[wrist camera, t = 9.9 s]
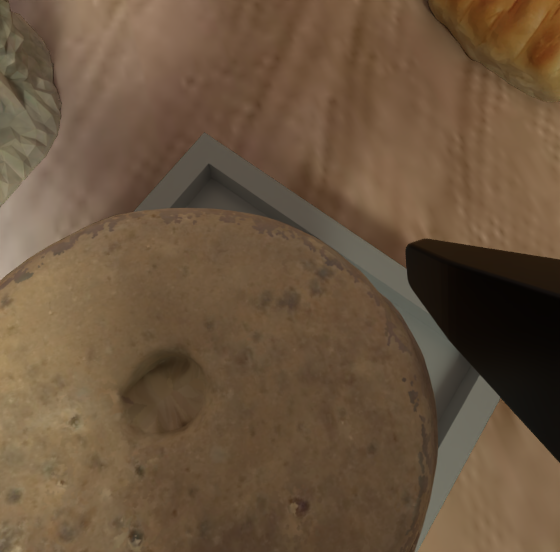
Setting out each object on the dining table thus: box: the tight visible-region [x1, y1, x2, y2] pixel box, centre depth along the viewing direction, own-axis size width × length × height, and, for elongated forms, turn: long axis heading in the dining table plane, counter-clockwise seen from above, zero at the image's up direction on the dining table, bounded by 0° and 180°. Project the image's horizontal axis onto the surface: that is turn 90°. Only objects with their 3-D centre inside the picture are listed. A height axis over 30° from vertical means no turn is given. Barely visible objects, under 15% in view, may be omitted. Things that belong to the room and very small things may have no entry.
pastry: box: [428, 0, 560, 102], centre depth 21 cm, size 9×7×4 cm
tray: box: [134, 132, 500, 552], centre depth 16 cm, size 15×15×2 cm
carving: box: [0, 208, 438, 552], centre depth 10 cm, size 6×8×12 cm
